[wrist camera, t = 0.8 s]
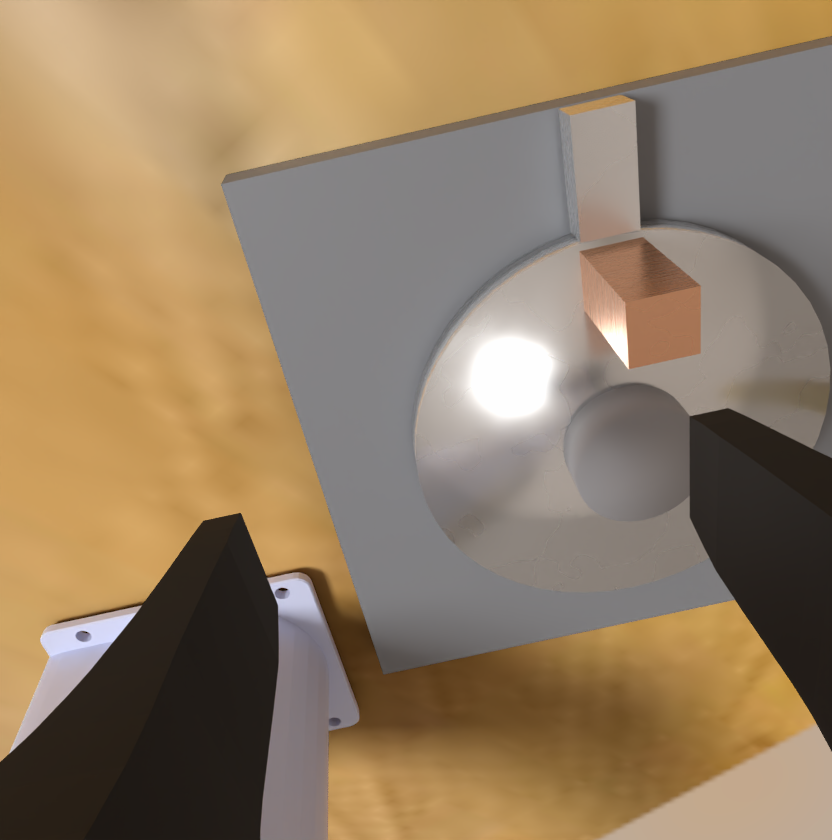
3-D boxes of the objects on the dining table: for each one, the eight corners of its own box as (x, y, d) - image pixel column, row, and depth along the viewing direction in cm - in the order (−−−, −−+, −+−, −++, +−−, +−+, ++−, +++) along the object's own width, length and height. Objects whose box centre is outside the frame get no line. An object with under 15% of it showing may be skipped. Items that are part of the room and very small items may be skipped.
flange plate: (450, 603, 25) (470, 712, 22) (342, 158, 18) (343, 207, 14) (796, 528, 25) (877, 625, 21) (840, 44, 17) (979, 62, 14)
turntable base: (382, 653, 28) (388, 741, 25) (226, 174, 19) (203, 216, 16) (853, 552, 28) (922, 628, 24) (932, 13, 18) (1060, 21, 15)
